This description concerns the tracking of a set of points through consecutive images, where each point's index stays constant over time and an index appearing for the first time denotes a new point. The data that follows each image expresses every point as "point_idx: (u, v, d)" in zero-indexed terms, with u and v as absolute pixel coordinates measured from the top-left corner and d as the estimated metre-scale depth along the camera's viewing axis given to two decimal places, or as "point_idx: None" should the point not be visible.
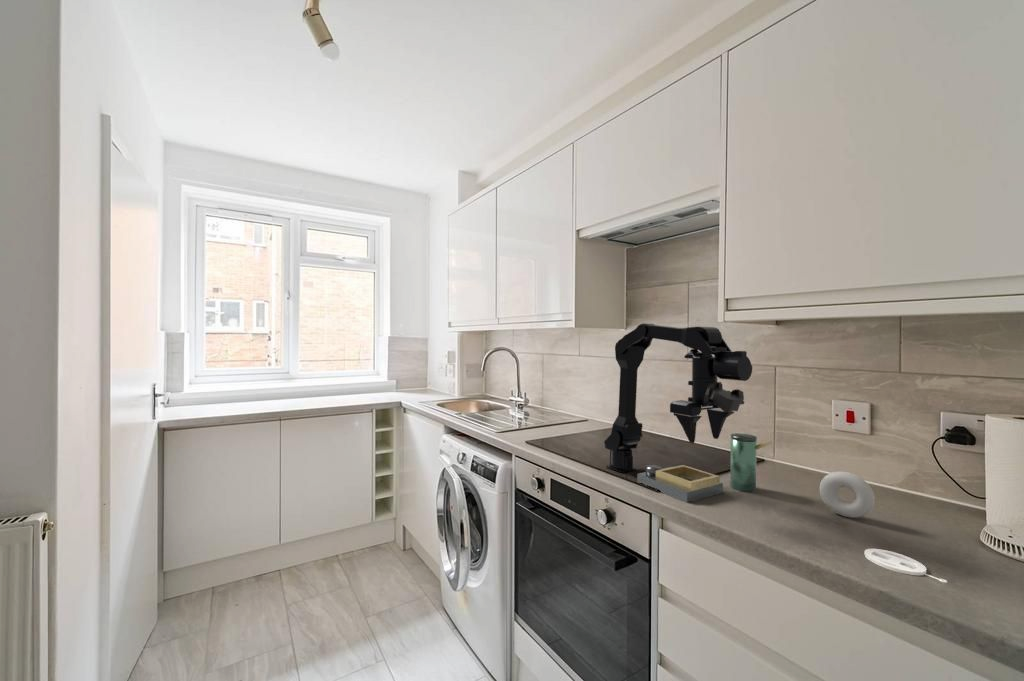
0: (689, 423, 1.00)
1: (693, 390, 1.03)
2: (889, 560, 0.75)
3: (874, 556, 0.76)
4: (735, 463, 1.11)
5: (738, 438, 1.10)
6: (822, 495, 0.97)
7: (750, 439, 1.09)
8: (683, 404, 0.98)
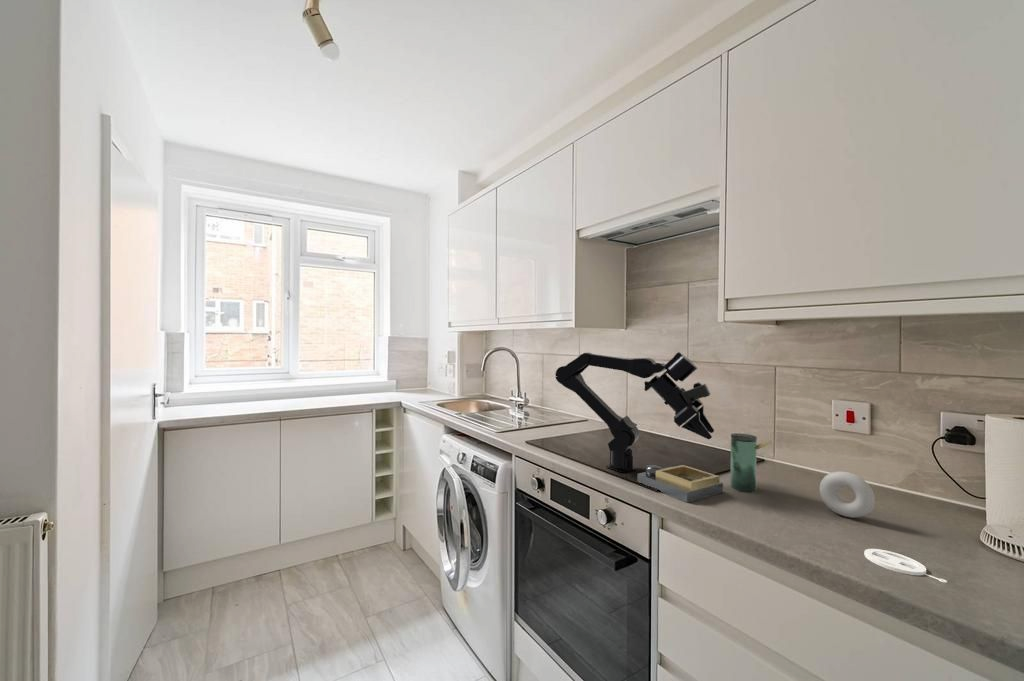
0: (696, 424, 1.12)
1: (673, 404, 1.18)
2: (889, 560, 0.75)
3: (874, 556, 0.76)
4: (735, 463, 1.11)
5: (738, 438, 1.10)
6: (822, 495, 0.97)
7: (750, 439, 1.09)
8: (684, 410, 1.11)
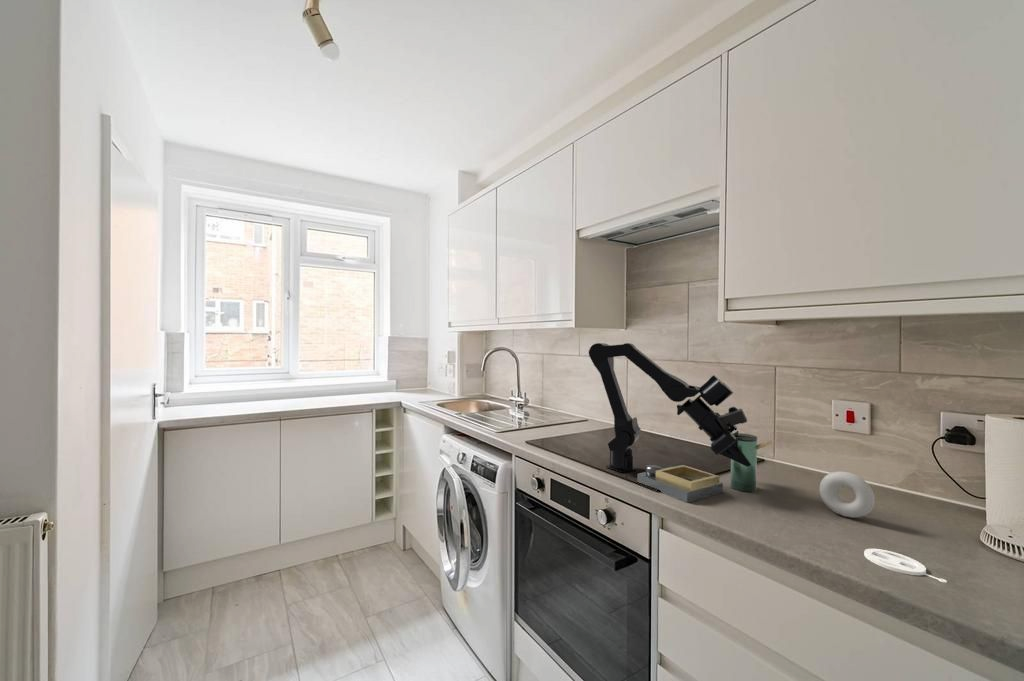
0: (735, 451, 1.09)
1: (708, 430, 1.14)
2: (889, 560, 0.75)
3: (874, 556, 0.76)
4: (735, 462, 1.11)
5: (739, 438, 1.10)
6: (822, 495, 0.97)
7: (751, 439, 1.09)
8: (722, 437, 1.06)
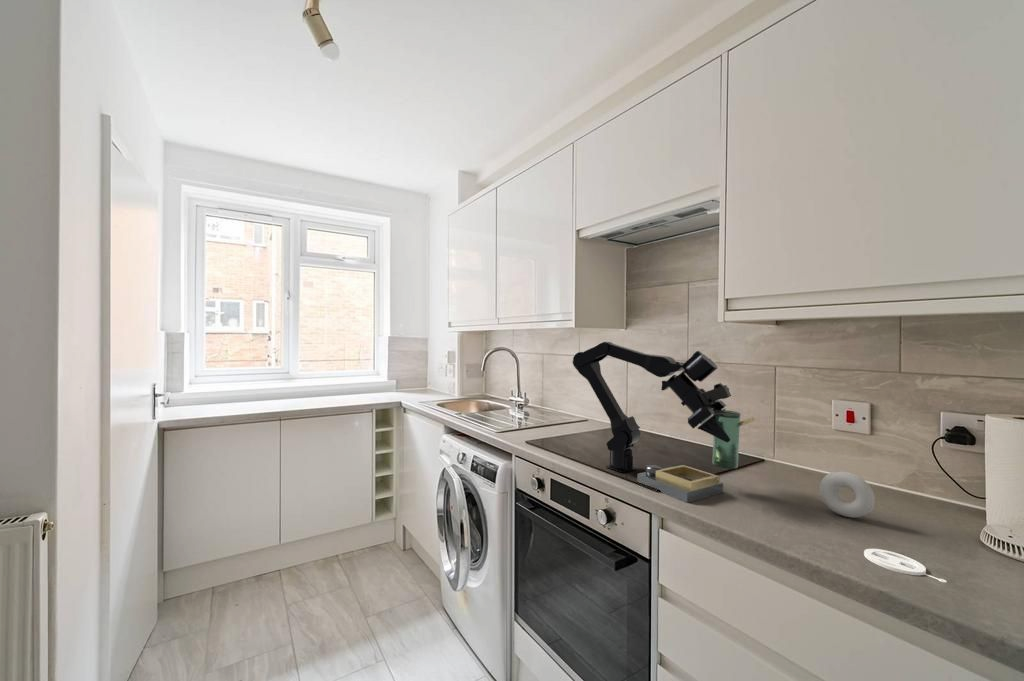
0: (714, 426, 1.08)
1: (690, 405, 1.13)
2: (889, 560, 0.75)
3: (874, 556, 0.76)
4: (716, 438, 1.10)
5: (720, 413, 1.09)
6: (822, 495, 0.97)
7: (732, 415, 1.07)
8: (698, 411, 1.06)
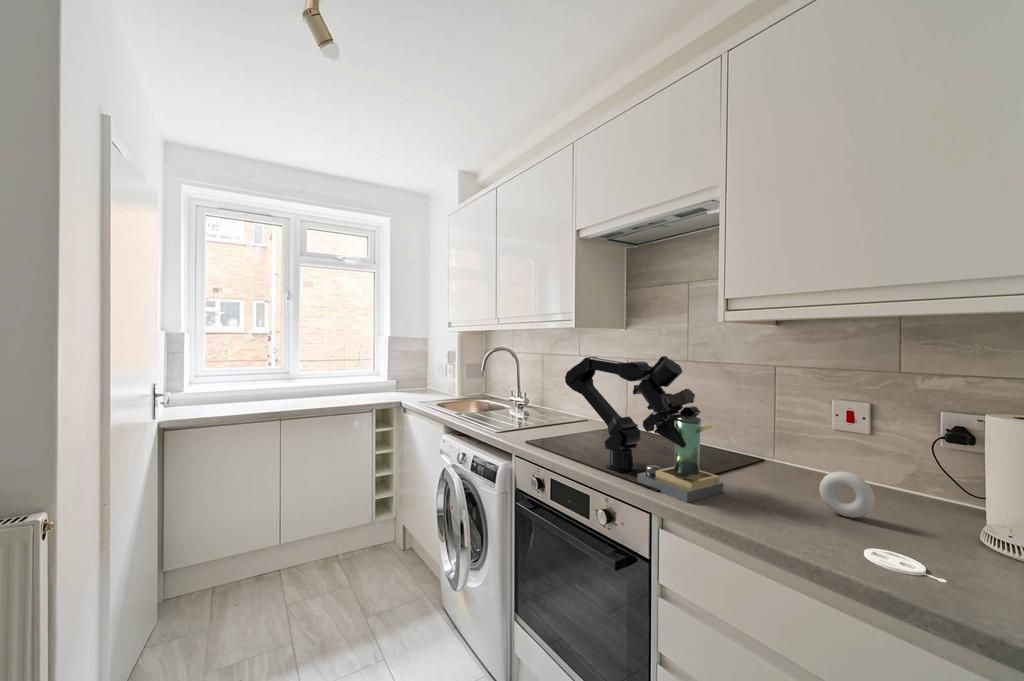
0: (670, 431, 1.09)
1: (654, 410, 1.15)
2: (889, 560, 0.75)
3: (874, 556, 0.76)
4: None
5: (678, 419, 1.09)
6: (822, 495, 0.97)
7: (688, 420, 1.07)
8: (650, 415, 1.09)
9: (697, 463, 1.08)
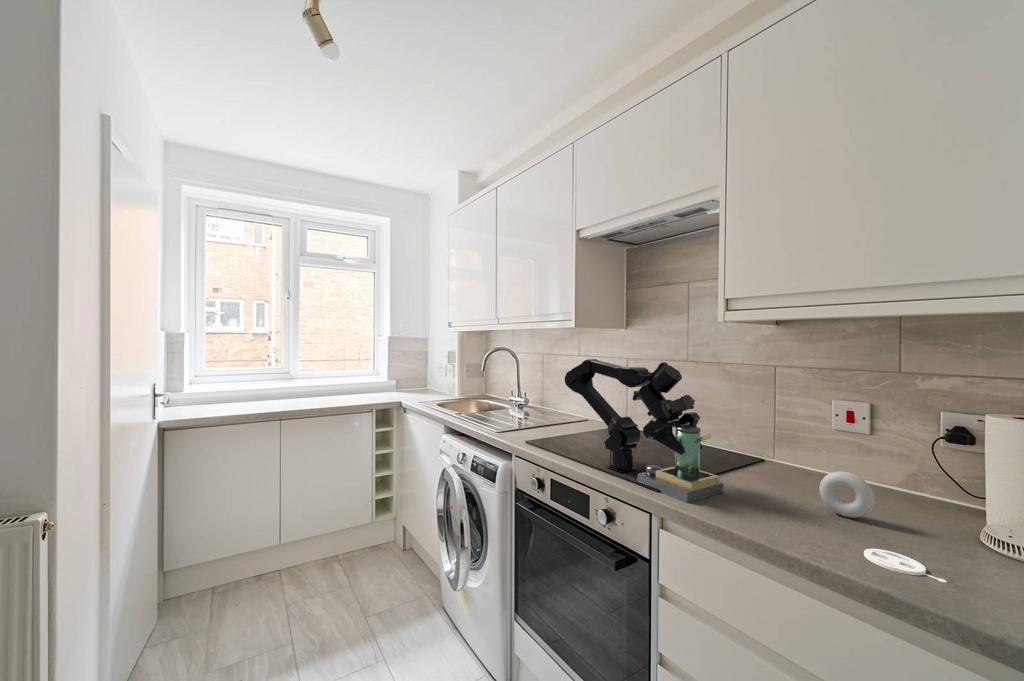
0: (668, 438, 1.08)
1: (654, 416, 1.15)
2: (888, 560, 0.75)
3: (873, 556, 0.76)
4: (675, 453, 1.10)
5: (677, 428, 1.09)
6: (822, 495, 0.97)
7: (687, 430, 1.07)
8: (650, 422, 1.09)
9: (697, 473, 1.08)
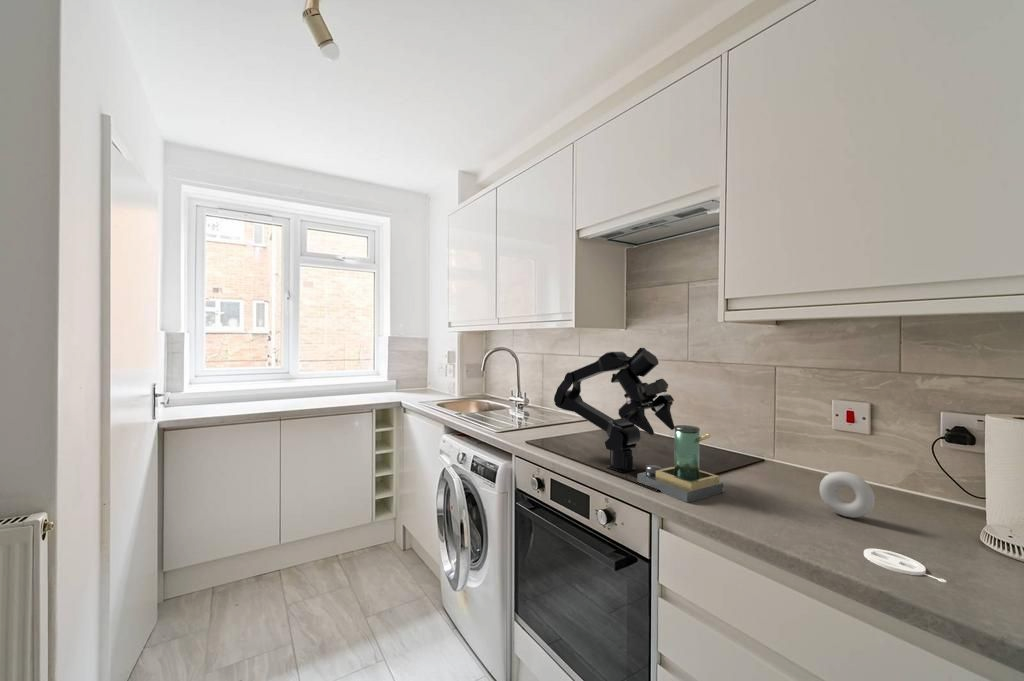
0: (640, 419, 1.16)
1: (630, 398, 1.22)
2: (888, 560, 0.75)
3: (873, 556, 0.76)
4: (675, 453, 1.10)
5: (676, 428, 1.09)
6: (822, 495, 0.97)
7: (686, 430, 1.07)
8: (625, 404, 1.16)
9: (697, 473, 1.08)
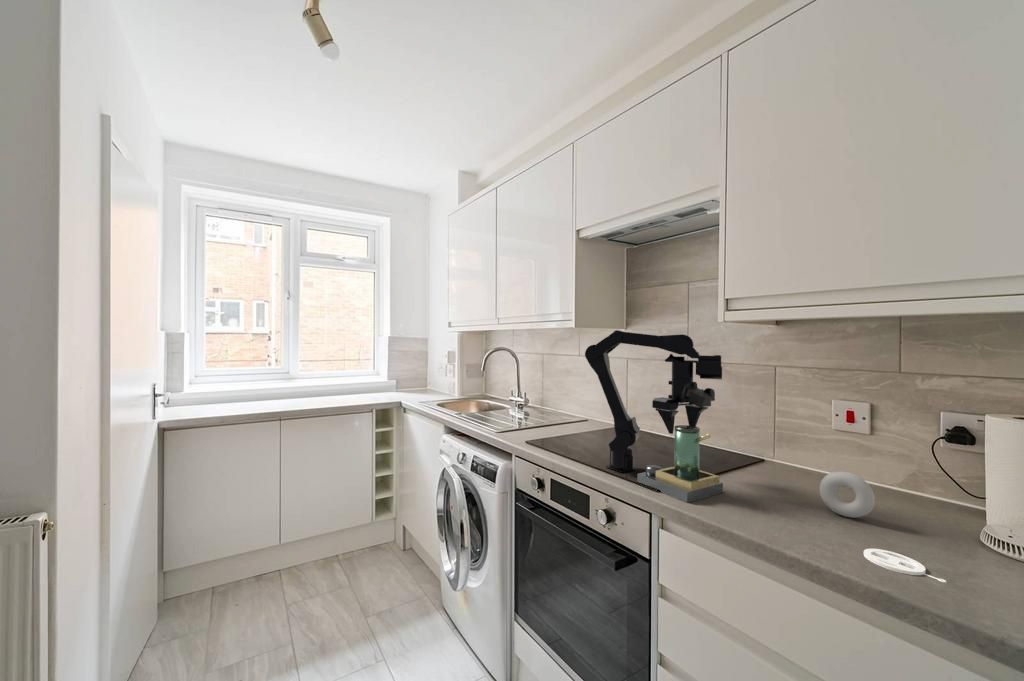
0: (668, 417, 1.18)
1: (672, 389, 1.21)
2: (888, 560, 0.75)
3: (873, 556, 0.76)
4: (675, 453, 1.10)
5: (676, 429, 1.09)
6: (822, 495, 0.97)
7: (687, 430, 1.07)
8: (663, 400, 1.15)
9: (697, 473, 1.08)
